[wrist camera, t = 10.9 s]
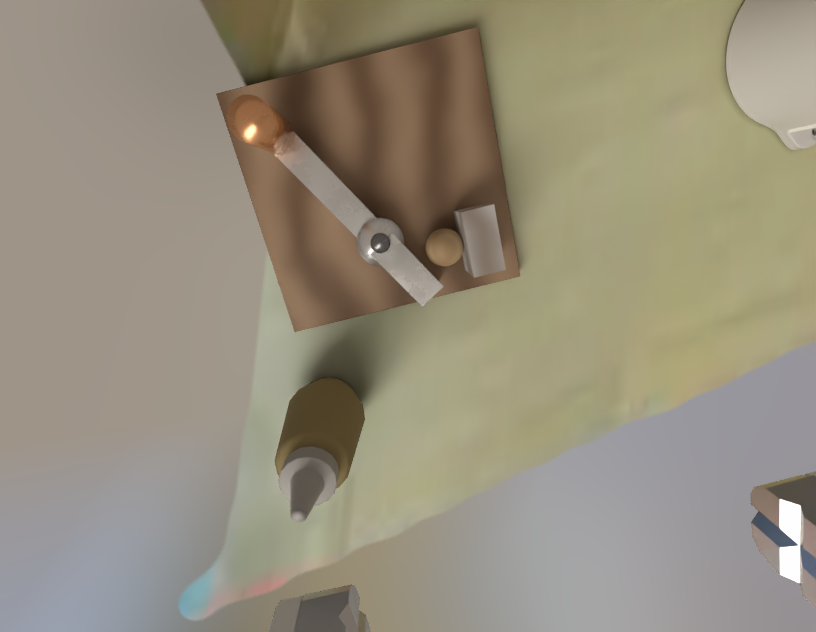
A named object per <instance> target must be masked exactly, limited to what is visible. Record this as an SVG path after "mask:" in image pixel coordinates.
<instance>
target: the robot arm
mask: <svg viewBox="0 0 816 632" xmlns="http://www.w3.org/2000/svg"><path fill="white" fill-rule="evenodd" d="M726 69H727V77H728V82H729V86H730V89H731V92H732V94H733V96H734V98H735V100H736V102H737V103H738V105H739V106H740V108H741V109H742V110H743V111H744V112H745V113H746V114H747V115H748V116H749V117H750V118H752V119H753V120H755V121H756V122H758V123H760V124H762V125H765V126H767V127H769V128H771V129H772V130H774V131H775V132H776V133H777V134H778V136H779V137H780V139H781V140H782V141H783V143H784V144H785V145H786V146H787V147H788V148H789V149H791V150H800V149H805V148H808V147H810V146H813V145H815V144H816V0H745V2H744V3H743V5H742V7H741V8H740V10H739V12H738V14H737V16H736V19H735V21H734V23H733V26H732V29H731V32H730V36H729V40H728V46H727V54H726ZM812 130H814V132H813V134H812ZM751 505H753V506H754V507H755V508H756V509H757V510H758V513H757V514H756V516H755V517H754V519H753V520H752V522H751V526H752V537H753V539H754V541H755V543H756V545H757V547H758V550H759V551H760V553H761V554H762V555H763V557H764V558H765V559H766V561H767V562H768V563H769V564H770V565H771V566H772V567H773V568H774V569H775V570H776V571H777V572H778V573H779V574H780V575H782V576H785V577H787V578H789V579H791V580H794V581H796V582H798V583H800V587H801V591H802V595H803V597H805V599H807V600H808V601H809V602H810V603H811V604H812V605H813V606H814V607H815V608H816V472H812V473H808V474H805V475H800V476H796V477H792V478H788V479H784V480H780V481H776V482H773V483H769V484H764V485H760V486H757V487H754V489H753V490H752V492H751ZM359 604H360V597H359V595H358V592H357V589H356V587H355V585H347V586H343V587H338V588H333V589H329V590H324V591H320V592H314V593H310V594H305V595H303V596H298V597H293V598H289V599H284V600H280V602H279V603H278V605H277V606H276V608H275V611H274V615H273V619H272V622H271V626H270V630H269V632H370V627H369V623H368V620H367V617H366V615H365V614H364V613H362V612H361V611H359Z"/></svg>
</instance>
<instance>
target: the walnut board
mask: <svg viewBox="0 0 816 632" xmlns="http://www.w3.org/2000/svg"><path fill="white" fill-rule="evenodd" d="M246 94H249V95H254V96H257V97H259V98H261V99H262V100H263V101H265V102H266V103H267V104H268V105H269V106H271V107H272V108H273V109H274V110H276V111H277V112H278V113H279V114H280V115H282V116H283V117H284V118H285V119H286V120H287V121H288V122H289V123H290V125H291V127H292V129H293V130H294V132H295V133H296V134H297V135H298V136H299V137H300V138H301V139H302V140H303V141H304V142H305V143H306V144H307V145H308V146H309V147H310V148H311V149H312V150H313V151H314V152H315V153H316V154H317V155H318V156H319V157H320V159H321V160H322V161H323V162H324V163H325V164H326V165H327V166H328V167H329V168H330V169H331V170H332V171H333V172H334V173H335V174H336V175H337V176H338V177H339V178H340V179H341V180H342V181H343V182H344V183H345V184H346V186H347V187H348V188H349V189H350V190H351V191H352V192H353V193H354V194H355V195H356V196H357V197H358V198H359V199H360V200H361V201H362V202H363V203H364V204H365V205H366V206H367V207H368V208H369V209H370V210H371V212H372V213H373V214H374V215H375V216H376V217H383V218H387V219H390V220H392V221H393V222H395V223H396V224H397V225H398V226H399V228H400V230H401V232H402V234H403V237H404V244H405V245H406V246H407V247H408V248H409V250H410V251H411V252H412V253H413V254H414V255H415V256H416V257H417V258H418V259H419V260H420V261H421V262H422V263H423V264H424V265H425V266H426V267H427V268H428V269H429V270H430V271H431V272H432V273H433V274H434V276H435V277H436V278H437V279H438V280H439V281H440V282H441V283H442V285H443V286H444V287H443V288H442V289H441V290H439V291H438V292H437V293H436V294H435V295H434V296H433V297H432V298H434V297H438V296H442V295H446V294H450V293H454V292H458V291H463V290H467V289H471V288H475V287H479V286H483V285H487V284H491V283H495V282H499V281H503V280H507V279H511V278H515V277H519V276H520V271H519V266H518V260H517V254H516V248H515V242H514V236H513V231H512V225H511V219H510V213H509V207H508V201H507V195H506V190H505V184H504V178H503V172H502V166H501V160H500V154H499V149H498V143H497V137H496V131H495V125H494V119H493V114H492V108H491V102H490V96H489V90H488V84H487V78H486V73H485V67H484V61H483V55H482V49H481V43H480V38H479V32H478V27H475V28H472V29H468V30H464V31H460V32H456V33H452V34H448V35H444V36H440V37H436V38H432V39H429V40H425V41H421V42H417V43H413V44H409V45H405V46H401V47H397V48H393V49H389V50H386V51H382V52H378V53H374V54H370V55H366V56H362V57H358V58H354V59H350V60H346V61H342V62H339V63H335V64H331V65H327V66H323V67H319V68H315V69H311V70H307V71H303V72H299V73H296V74H292V75H288V76H284V77H280V78H276V79H272V80H268V81H264V82H260V83H256V84H252V85H249V86H245V87H241V88H237V89H233V90H229V91H225V92H221V93H218V94H217V98H218V101H219V104H220V107H221V110H222V112H223V116H224V119H225V122H226V125H227V128H228V131H229V134H230V137H231V140H232V143H233V146H234V149H235V152H236V155H237V158H238V161H239V164H240V167H241V170H242V173H243V176H244V179H245V182H246V185H247V188H248V191H249V194H250V198H251V201H252V204H253V207H254V210H255V212H256V216H257V219H258V222H259V225H260V228H261V230H262V234H263V237H264V240H265V243H266V246H267V249H268V252H269V255H270V258H271V261H272V264H273V267H274V270H275V273H276V276H277V279H278V282H279V285H280V289H281V292H282V295H283V298H284V301H285V304H286V307H287V310H288V313H289V316H290V319H291V322H292V325H293V328H294V331H295V332H297V331H301V330H305V329H309V328H313V327H317V326H321V325H325V324H329V323H333V322H337V321H341V320H345V319H349V318H353V317H357V316H361V315H365V314H370V313H374V312H378V311H382V310H386V309H390V308H394V307H398V306H402V305H406V304H410V303H414V302H417V301H416V300H415V299H414V298H413V297H412V296H411V295H410V294H409V293H408V292H407V291H406V290H405V289H404V288H403V287H402V286H401V285H400V284H399V283H398V282H397V281H396V280H395V279H394V278H393V277H392V276H391V275H390V274H389V273H388V272H387V271H386V270H385V269H384V268H383V267H382V266H375V265H372V264H370V263H368V262H367V261H365V260H364V259H363V258H362V256H361V255H360V253H359V251H358V248H357V238H356V237H355V236H354V235H353V234H352V233H351V232H350V231H349V230H348V228H347V227H346V226H345V225H344V224H343V223H342V222H341V221H340V220H339V219H338V218H337V217H336V216H335V215H334V214H333V213H332V212H331V211H330V210H329V209H328V208H327V207H326V206H325V205H324V204H323V203H322V202H321V201H320V200H319V199H318V198H317V197H316V196H315V195H314V194H313V193H312V192H311V191H310V190H309V189H308V188H307V187H306V186H305V185H304V184H303V183H302V182H301V181H300V180H299V179H298V178H297V177H296V176H295V175H294V174H293V173H292V172H291V171H290V170H289V169H288V168H287V167H286V166H285V165H284V164H283V163H282V162H281V161H280V160H279V159H278V158H277V157H276V156H275V155H274V154H273V153H270V152H268V151H265V150H263V149H261V148H258V147H256V146H253V145H251V144H248V143H246V142H244V141H242V140H240V139H238V138H237V137H236V136H235V135H234V134H233V133H232V131H231V129H230V128H229V125H228V121H227V112H228V108H229V106H230V104H231V102H232V101H233V100H234V99H235V98H237V97H239V96H241V95H246ZM443 228H446V229H451V230H453V231H455V232H456V233H457V234H458V235H459V236H460V237H461V239H462V242H463V252H462V255H461V257H460V259H459V260H458V261H457V262H456V263H454V264H452V265H450V266H439V265H436V264H434V263H433V262H432V261H431V260H430V259H429V258H428V256H427V253H426V242H427V239H428V238H429V236H430V235H431V234H432V233H433V232H434V231H436V230H438V229H443Z"/></svg>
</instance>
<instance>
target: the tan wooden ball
mask: <svg viewBox="0 0 816 632" xmlns="http://www.w3.org/2000/svg"><path fill="white" fill-rule="evenodd" d="M462 252H463V242H462V239H461V237H460V236H459V235H458V234H457V233H456V232H455V231H453V230H451V229H446V228H443V229H438V230H436V231H434V232H433V233H432V234H431V235H430V236H429V238H428V239H427V242H426V253H427V256H428V258H429V259H430V260H431V261H432V262H433V263H434V264H436V265H439V266H450V265H452V264H454V263H456V262H457V261H458V260H459V259H460V257H461V255H462Z"/></svg>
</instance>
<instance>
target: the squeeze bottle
mask: <svg viewBox="0 0 816 632" xmlns="http://www.w3.org/2000/svg"><path fill="white" fill-rule="evenodd" d="M364 420H365V417H364V410H363V405H362V403H361V402H360V400H359V399H358V397H357V395H356V394H355V392H354V391H353V390H352V388H351V387H350V386H349V385H348V384H347V383H345V382H344V381H342V380H340V379H336V378H332V377H330V378H321V379H319V380H317V381H315V382H312V383H311V384H309V385H307V386H305V387H303V388H301V389H299V390H298V391H297V393H296V394H295V395H294V396H293V397H292V399H291V400H290V402H289V406H288V410H287V414H286V418H285V422H284V426H283V430H282V433H281V437H280V441H279V445H278V449H277V453H276V457H275V465H276V470H277V474H278V475H279V480H278V481H279V486H280V490H281V492H282V493H283V494H284V496H285V497H286V498H287V499H288V500H290V507H291V518H292V520H294V521H295V522H302V521H304V520H305V519H306V518H307V516H308V515H309V513H310V511H311V509H312V508H313V506H316V505H320V504H322V503H324V502H326V501H328V500H329V498H330V497H331V496H332V495H333V494H334V493H335V489H336V488H338V487H339V486H340V485H341V484H342V483H343V482H344V481H345V480H346V478H347V477H348V474H349V471H350V467H351V464H352V461H353V457H354V454H355V451H356V447H357V444H358V441H359V437H360V434H361V430H362V427H363V424H364Z"/></svg>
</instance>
